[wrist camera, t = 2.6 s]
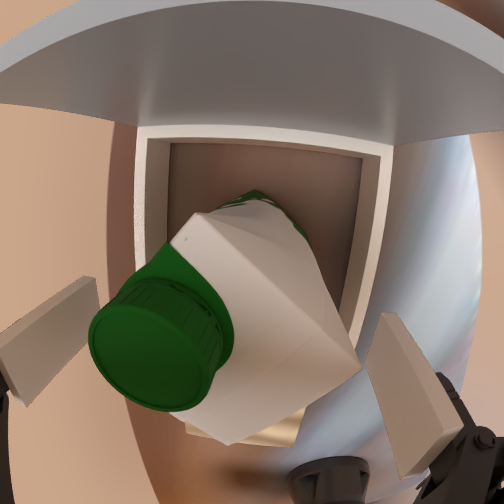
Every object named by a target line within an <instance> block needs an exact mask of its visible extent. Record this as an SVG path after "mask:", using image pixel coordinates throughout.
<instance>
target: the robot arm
mask: <svg viewBox="0 0 504 504" xmlns="http://www.w3.org/2000/svg"><path fill="white" fill-rule="evenodd" d="M99 310H100V305H99V299H98V293H97V286H96V279H95V278H93V277H88V276H83V277H81V278H80V279H78V280H76V281H75V282H73V283H72V284H70V285H69V286H67V287H66V288H64V289H63V290H61V291H60V292H58V293H57V294H55V295H54V296H52V297H51V298H49V299H48V300H46V301H45V302H43V303H42V304H41V305H39V306H38V307H36V308H35V309H34V310H32V311H31V312H29V313H28V314H26V315H25V316H24V317H22V318H21V319H19V320H18V321H16V322H15V323H14V324H12V326H10V327H8V328H7V329H6V330H4V331H3V332H2V333H0V504H15V502H14V498H13V497H14V496H13V490H12V484H11V475H10V465H9V451H8V408H9V398H8V395H7V393H6V392H7V391H8V390H9V389H10V391H11V393H12V394H13V396H14V398H15V400H16V401H18V402H19V403H21V404H22V405H24V406H25V407H28V406H29V405H30V403H32V401H33V400H34V399H35V398H36V397H37V396H38V395H39V394H40V392H41V391H42V390H43V389H44V388H45V387H46V386H47V385H48V384H49V382H50V381H51V380H52V379H53V378H54V377H55V376H56V375H57V374H58V373H59V372H60V371H61V370H62V368H63V367H64V366H65V365H66V364H67V363H68V362H69V361H70V360H71V359H72V358H73V357H74V356H75V355H76V354H77V353H78V352H79V351H80V349H82V347H84V346H85V344H86V343H87V342H88V330H89V326H90V324H91V321H92V319H93V317H94V316H95V315H96V314H97V312H98V311H99ZM365 365H366V368H367V371H368V374H369V377H370V379H371V382H372V385H373V388H374V391H375V394H376V397H377V400H378V403H379V407H380V410H381V413H382V416H383V419H384V423H385V426H386V429H387V433H388V436H389V439H390V443H391V446H392V450H393V454H394V457H395V461H396V465H397V469H398V472H399V476H400V480H402V479H407V478H411V477H416V476H420V475H421V474H422V473H423V472H424V471H425V470H426V469H427V468H428V467H429V469H430V472H431V474H430V475H429V476H428V477H427V478H425V479H424V480H423V481H422V482H421V483H420V484H419V485H418V486H417V487H416V490H418V489H419V488H420V487H422V488H421V490H420V492H419V494H418V496H417V498H416V499H415V501H414V503H413V504H504V487H503V488H501V482H502V481H504V437H496V436H495V434H494V433H493V432H492V431H491V430H490V429H488V428H487V427H482V426H476V425H475V423H474V421H473V419H472V417H471V416H470V414H469V412H468V410H467V409H466V407H465V405H464V403H463V402H462V400H461V399H460V397H459V395H458V393H457V392H455V388H454V387H453V385H452V383H451V382H450V380H449V379H448V378H446V377H445V376H444V375H443V374H442V373H441V372H438V373H435V372H434V371H433V369H432V367H431V366H430V364H429V363H428V361H427V359H426V358H425V356H424V355H423V353H422V351H421V350H420V348H419V347H418V345H417V344H416V342H415V341H414V339H413V337H412V336H411V334H410V333H409V331H408V330H407V328H406V327H405V325H404V324H403V322H402V321H401V320H400V318H399V317H398V315H397V314H396V313H384V312H381V314H380V317H379V321H378V324H377V327H376V330H375V333H374V336H373V339H372V342H371V345H370V348H369V351H368V354H367V357H366V359H365ZM369 477H370V471H369V466H368V463H367V462H366V461H365V460H363V459H360V458H355V457H334V458H326V459H321V460H317V461H313V462H310V463H307V464H304V465H302V466H300V467H298V468H296V469H294V470H293V471H292V472H291V473H290V474H289V476H288V490H289V492H290V495H291V497H292V500H293V502H294V504H365V502H364V500H365V495H366V491H367V487H368V482H369Z"/></svg>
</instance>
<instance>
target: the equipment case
mask: <svg viewBox="0 0 504 504" xmlns="http://www.w3.org/2000/svg"><path fill="white" fill-rule="evenodd" d="M0 103H4V104H13V105H22V106H31V107H38V108H46V109H52V110H58V111H64V112H70V113H76V114H81V115H86V116H91V117H96V118H101V119H106V120H110V121H115V122H119V123H123V124H128V125H132V126H136V127H138V131H137V143H136V158H135V180H134V239H135V262H136V271H137V270H139V269H140V268H141V267H143V266H144V265H145V264H147V263H148V262H150V260H151V259H152V258H153V257H154V255H155V254H156V253H157V252H158V250H159V249H160V248H161V247H162V246H163V244H164V243H165V242H166V241H167V202H168V176H169V158H170V144H171V143H218V144H241V145H257V146H270V147H281V148H291V149H300V150H309V151H317V152H324V153H331V154H338V155H344V156H350V157H356V158H362V159H363V160H362V171H361V181H360V190H359V198H358V206H357V214H356V221H355V227H354V234H353V240H352V246H351V252H350V258H349V263H348V269H347V274H346V279H345V284H344V289H343V293H342V298H341V303H340V307H339V311H338V314H339V316H340V318H341V320H342V323H343V325H344V327H345V329H346V332H347V334H348V336H349V338H350V341H351V343H352V345H353V347H354V350H355V347H356V344H357V341H358V338H359V334H360V331H361V328H362V324H363V321H364V317H365V313H366V310H367V306H368V302H369V298H370V294H371V290H372V286H373V281H374V277H375V272H376V268H377V263H378V258H379V253H380V248H381V243H382V237H383V231H384V225H385V219H386V212H387V205H388V198H389V190H390V181H391V171H392V160H393V147H394V146H397V145H402V144H408V143H413V142H419V141H425V140H431V139H438V138H445V137H452V136H459V135H467V134H475V133H485V132H495V131H504V39H503V38H501V37H500V36H498V35H497V34H495V33H494V32H492V31H491V30H489V29H487V28H486V27H484V26H483V25H481V24H479V23H478V22H476V21H474V20H472V19H470V18H469V17H467V16H465V15H463V14H462V13H459V12H458V11H456V10H454V9H452V8H450V7H448V6H446V5H444V4H442V3H439V2H437V1H435V0H80V1H77V2H75V3H73V4H71V5H68V6H66V7H64V8H62V9H60V10H58V11H56V12H54V13H53V14H51V15H49V16H47V17H45V18H43V19H42V20H40V21H38V22H36V23H35V24H33V25H31V26H30V27H28V28H27V29H25V30H24V31H22V32H20V33H19V34H17V35H16V36H14V37H13V38H11V39H10V40H8V41H7V42H6V43H4V44H3V45H2V46H0Z"/></svg>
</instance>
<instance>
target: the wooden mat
mask: <svg viewBox="0 0 504 504" xmlns="http://www.w3.org/2000/svg"><path fill="white" fill-rule="evenodd" d="M305 409H306V407H304V408H302V409H301V410H299V411H297V412H295V413H294V414H292V415H290V416H288V417H287V418H285V419H283V420H281V421H279V422H277V423H275V424H273V425H271V426H270V427H268V428H266V429H264V430H262V431H260V432H258V433H256V434H253V435H251V436H249V437H247V438H245V439H243V440H241V441H238V442H239V443H246V444H255V445H265V446H278V447H293V444H294V442H295V439H296V436H297V433H298V430H299V427H300V424H301V421H302V418H303V415H304V412H305ZM185 428H186V433H188V434H193V435H198V436H202V437H208V438H213V437H212V436H210V435H208V434H207V433H205V432H203V431H202V430H200V429H199V428H197V427H195V426H194V425H192V424H191V423H189V422H188V421H186V422H185ZM213 439H215V438H213Z"/></svg>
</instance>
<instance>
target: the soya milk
mask: <svg viewBox="0 0 504 504" xmlns="http://www.w3.org/2000/svg"><path fill="white" fill-rule="evenodd" d="M88 344H89V349H90V353H91V356H92V358H93V361H94V363H95V365H96V366H97V368H98V370H99V371H100V372H101V374H102V375H103V377H104V378H105V379H106V380H107V381H108V382H109V383H110V384H111V385H112V386H113V387H114V388H115V389H116V390H117V391H118V392H120V393H121V394H122V395H124V396H125V397H127V398H128V399H130V400H131V401H133V402H135V403H137V404H139V405H141V406H144V407H147V408H150V409H153V410H157V411H163V412H169V413H170V414H172V415H173V416H174V417H176V418H177V419H179V420H180V421H182V422H186V421H188V422H189V423H191V424H192V425H194V426H195V427H197V428H199V429H200V430H202V431H203V432H205V433H207V434H208V435H210V436H212V437H213V438H215V439H217V440H218V441H220V442H222V443H224V444H225V445H227V446H229V445H232V444H234V443H236V442H238V441H241V440H243V439H245V438H247V437H249V436H251V435H253V434H256V433H258V432H260V431H262V430H264V429H266V428H268V427H270V426H271V425H273V424H275V423H277V422H279V421H281V420H283V419H285V418H287V417H288V416H290V415H292V414H294V413H295V412H297V411H299V410H301V409H302V408H304V407H306V406H307V405H309V404H311V403H312V402H314V401H316V400H317V399H319V398H321V397H322V396H324V395H325V394H327V393H328V392H330V391H332V390H333V389H335V388H336V387H338V386H339V385H341V384H342V383H344V382H345V381H346V380H348V379H349V378H351V377H352V376H354V375H355V374H356V373H358V372H359V371H360V370H362V369H363V367H362V365H361V363H360V361H359V359H358V357H357V354H356V352H355V350H354V347H353V345H352V343H351V341H350V338H349V336H348V334H347V332H346V329H345V327H344V325H343V323H342V320H341V318H340V316H339V314H338V312H337V309H336V307H335V305H334V303H333V301H332V298H331V296H330V294H329V292H328V290H327V288H326V286H325V283H324V281H323V278H322V275H321V272H320V269H319V267H318V264H317V261H316V259H315V256H314V254H313V251H312V248H311V246H310V243H309V241H308V238H307V236H306V234H305V233H304V232H303V230H302V229H301V228H300V227H299V226H298V225H297V224H296V223H295V222H294V221H293V220H292V219H291V218H290V217H289V216H288V215H287V214H286V213H285V212H284V211H283V210H282V209H281V208H280V207H279V206H277V205H276V204H275V203H274V202H273V201H271V200H270V199H268V198H267V197H265V196H264V195H263V194H261V193H260V192H258V191H257V190H253V191H251V192H248V193H246V194H244V195H242V196H240V197H238V198H236V199H234V200H231V201H229V202H227V203H226V204H224V205H222V206H220V207H219V208H217V209H215V210H214V211H212V212H210V213H194V214H193V215H192V217H191V218H190V219H189V220H188V221H187V222H186V223H185V225H184V226H183V227H182V228H181V229H180V231H179V232H178V233H177V234H176V235H175V237H174V238H173V239H172V240H171V241H170V243H168V242H167V241H166V242H165V243H164V244H163V246H162V247H161V248H160V249H159V250H158V252H157V253H156V254H155V255H154V257H153V258H152V259H151V260H150V262H148V263H147V264H145V265H144V266H143V267H141V268H140V269H139V270H137V271H136V272H135V273H134V274H133V275H132V276H131V277H130V278H129V279H128V280H127V281H126V282H125V284H124V285H123V286H122V288H121V289H120V290H119V292H118V294H117V295H116V297H114V298H113V299H112V300H111V301H110V302H109V303H107V304H106V305H105V306H104V307H103V308H102V309H101V310H99V311H98V312H97V314H96V315H95V316H94V317H93V319H92V321H91V324H90V326H89V330H88Z"/></svg>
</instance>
